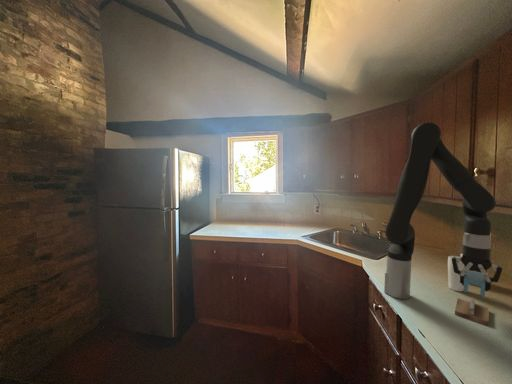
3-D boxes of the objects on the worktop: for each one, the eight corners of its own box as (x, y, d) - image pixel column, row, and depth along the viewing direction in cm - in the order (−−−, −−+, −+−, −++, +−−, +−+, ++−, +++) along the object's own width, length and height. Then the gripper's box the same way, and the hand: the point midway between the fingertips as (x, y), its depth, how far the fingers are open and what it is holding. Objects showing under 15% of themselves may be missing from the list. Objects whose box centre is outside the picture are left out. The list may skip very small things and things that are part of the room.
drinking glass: (455, 285, 107) (457, 255, 105) (469, 292, 100) (472, 261, 99) (442, 285, 106) (444, 255, 105) (455, 293, 100) (457, 261, 98)
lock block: (465, 282, 90) (466, 270, 90) (485, 287, 86) (485, 274, 85) (463, 291, 83) (463, 278, 83) (484, 296, 79) (485, 283, 79)
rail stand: (454, 314, 85) (455, 304, 85) (457, 301, 93) (458, 292, 93) (488, 325, 78) (489, 315, 78) (488, 311, 87) (489, 301, 86)
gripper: (504, 246, 81) (502, 290, 82) (452, 239, 91) (450, 278, 92) (505, 251, 76) (502, 298, 77) (450, 243, 86) (448, 284, 87)
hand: (474, 287), depth 84 cm, fingers closed on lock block, 5 cm apart
